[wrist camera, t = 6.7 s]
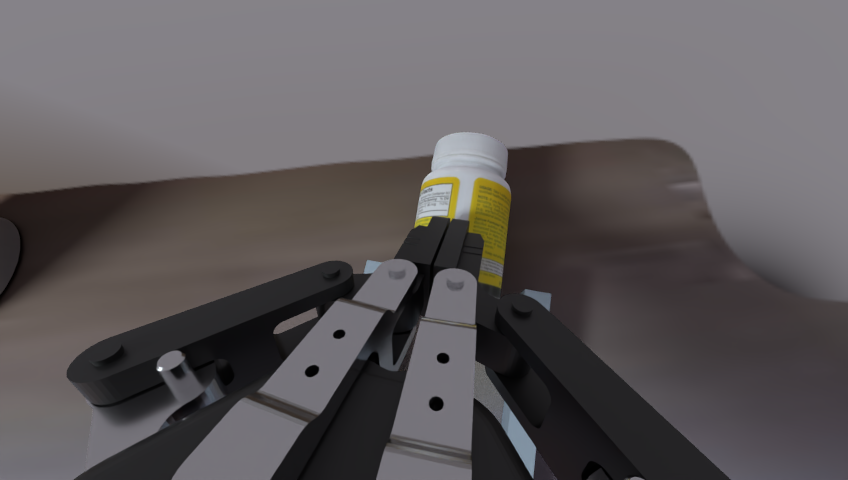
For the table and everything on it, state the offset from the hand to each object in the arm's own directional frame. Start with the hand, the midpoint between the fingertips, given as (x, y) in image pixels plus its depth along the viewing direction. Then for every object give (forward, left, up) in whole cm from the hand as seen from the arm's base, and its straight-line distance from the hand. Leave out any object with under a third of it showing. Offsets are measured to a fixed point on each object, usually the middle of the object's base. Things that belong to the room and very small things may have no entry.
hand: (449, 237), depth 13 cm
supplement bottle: (+1, -2, -3) cm, 4 cm away
